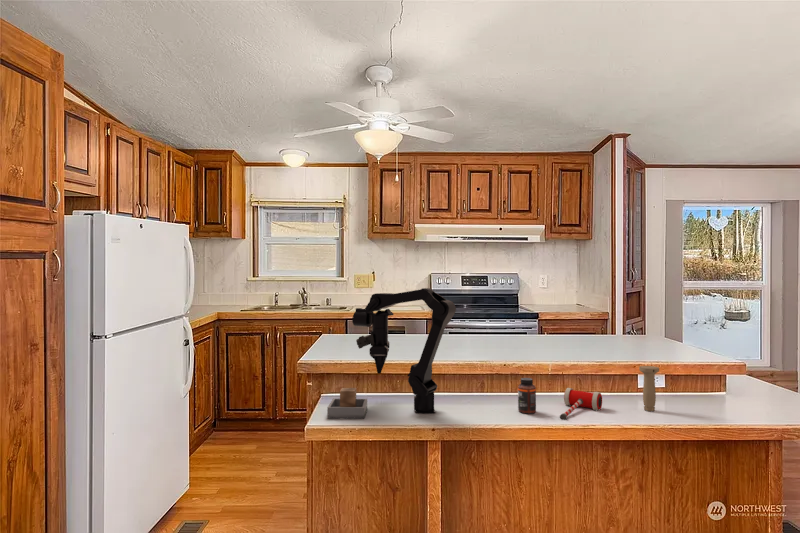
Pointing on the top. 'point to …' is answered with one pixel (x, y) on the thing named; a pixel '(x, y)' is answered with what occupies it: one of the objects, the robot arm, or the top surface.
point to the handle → (649, 386)
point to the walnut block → (348, 397)
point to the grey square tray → (347, 409)
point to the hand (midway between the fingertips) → (379, 371)
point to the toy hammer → (581, 400)
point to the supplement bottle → (527, 396)
